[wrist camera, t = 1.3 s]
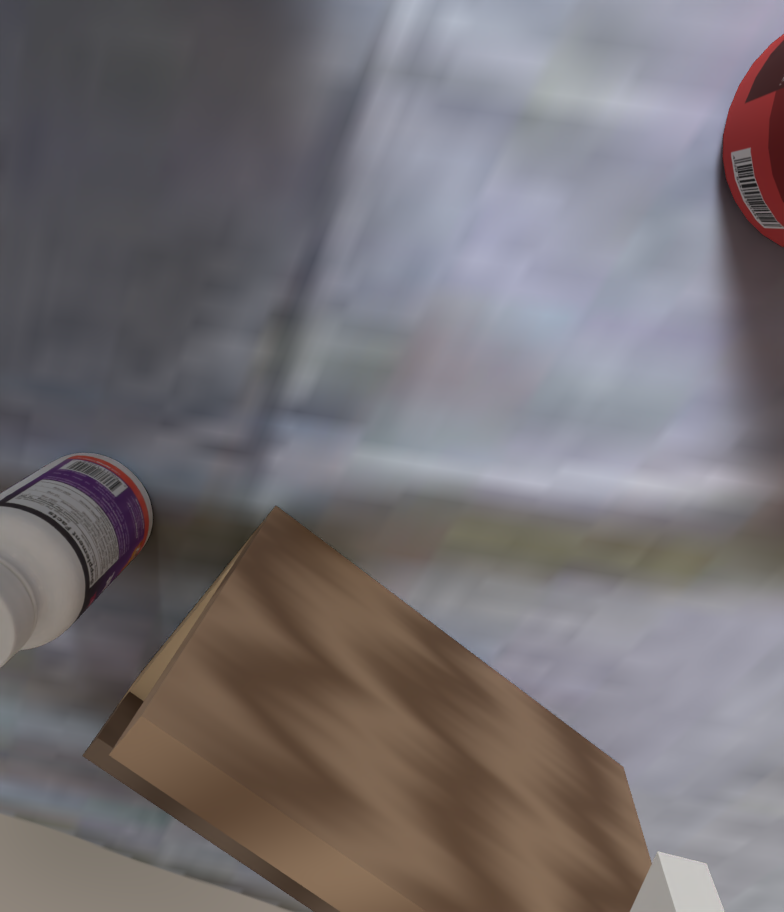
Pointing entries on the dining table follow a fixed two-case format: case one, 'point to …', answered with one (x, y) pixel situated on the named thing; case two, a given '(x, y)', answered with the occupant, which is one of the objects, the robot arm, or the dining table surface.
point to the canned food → (758, 144)
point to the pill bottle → (65, 544)
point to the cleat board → (367, 750)
